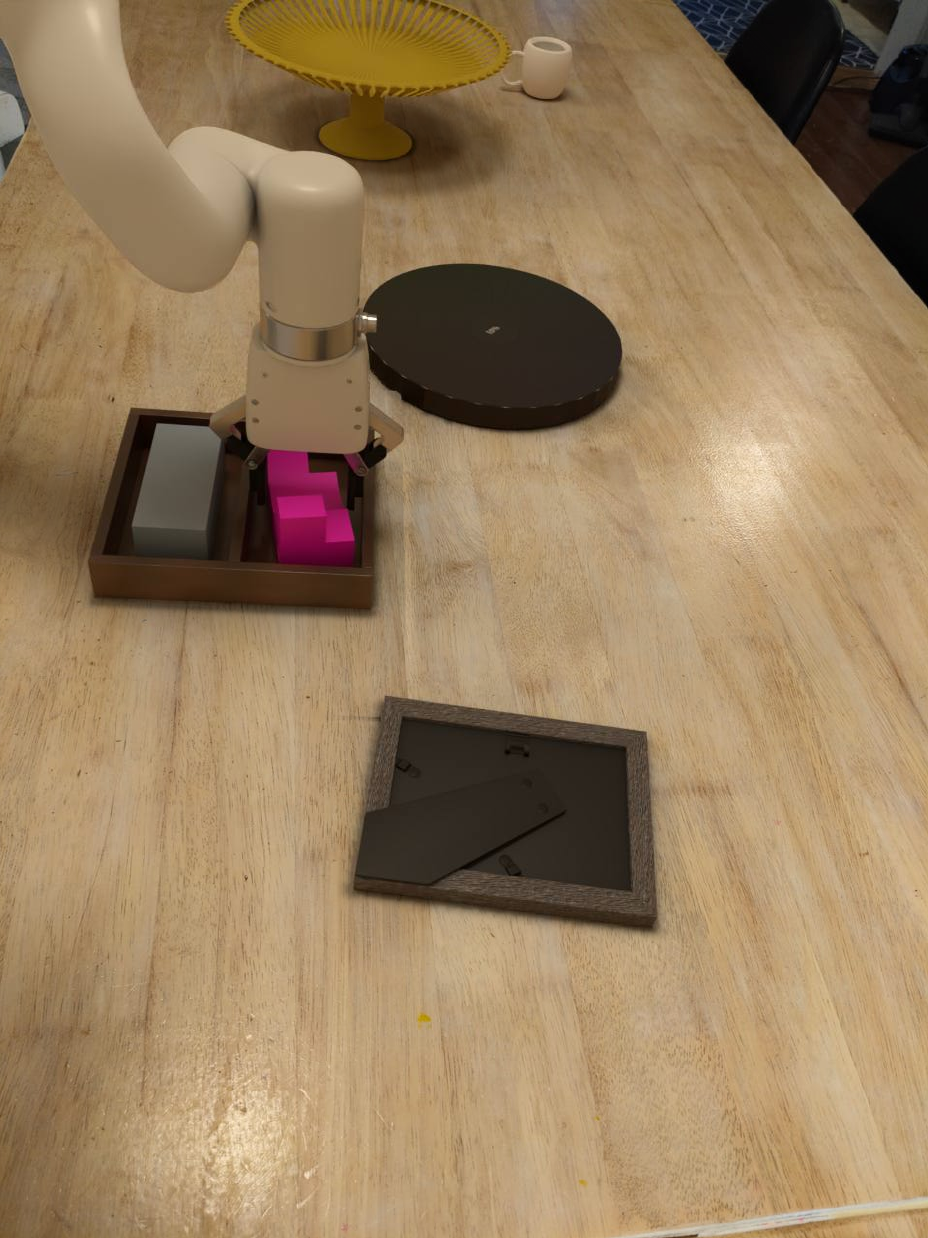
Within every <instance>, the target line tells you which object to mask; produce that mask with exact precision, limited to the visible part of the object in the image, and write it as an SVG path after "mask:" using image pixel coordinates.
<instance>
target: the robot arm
mask: <svg viewBox="0 0 928 1238" xmlns="http://www.w3.org/2000/svg"><path fill="white" fill-rule="evenodd" d="M120 7H121V6H120V0H0V40H1V41H2V43H3V44H4V46H5V48H6V49H7V52H8V54H9V57H10V60H11V63H12V65H13V69H14V72H15V75H16V78H17V82H18V85H19V89H20V91H21V94H22V96H23V99H24V101H25V104H26V106H27V109H28V111H29V113H30V115H31V118H32V120H33V122H34V125H35V128H36V129H37V132H38V135H39V137H40V139H41V142H42V144H43V146H44V148H45V151H46V152H47V155H48V157H49V158H50V162H51V163H52V165H53V166H54V169H55V170H56V171H57V173H58V175H59V177H60V179H61V180H62V182H63V183H64V185H65V186H66V188H67V189H68V191H69V192H70V194H71V195H72V196H73V197H74V199H75V200H76V202H77V203H78V204H79V206H80V207H81V208H82V210H84V212H85V213H86V215H87V216H88V217H89V218H90V219H91V220H92V221H93V223H94V224H95V225H96V227H97V228H99V230H100V231H101V232H102V234H103V235H104V236H105V237H106V238H107V239H108V241H110V243H111V244H112V245H113V246H114V247H115V248H116V250H117V251H118V252H119V253H120V254H121V255H122V256H123V257H124V258H125V259H126V261H128V263H130V264H131V266H133V267H134V269H136V270H137V271H139V272H140V273H141V274H142V275H143V276H145V277H146V278H147V279H149V280H150V281H152V282H154V283H155V284H157V285H159V286H161V287H163V288H165V289H167V290H170V291H174V292H178V293H182V294H183V293H184V294H195V293H202V292H205V291H207V290H211V289H212V288H215V286H217V285H218V284H220V283H221V282H222V281H224V280H225V279H226V278H227V276H228V275H229V274H230V273H231V271H232V270H233V268H234V266H235V265H236V262H237V260H238V259H239V257H240V256H241V253H242V251H243V249H244V247H245V245H246V243H247V242H252V243H254V244H255V245H256V247H257V253H258V254H257V255H258V289H259V292H258V293H259V322H258V323H256V324H255V325H254V326H253V328H252V331H251V335H250V340H249V344H248V345H249V348H248V352H247V366H246V367H247V368H246V384H245V394H244V395H242V396H240V397H239V398H237V399H235V400H234V401H232V402H230V403H228V404H227V405H225V406H223V407H222V408H220V409H218V410H217V411H215V412H213V413H214V414H212V415H211V418H210V424H209V428H210V429H211V430H212V431H213V432H214V433H215V434H216V435H217V436H218V437H219V438H220V439H221V440H222V441H224V442H225V443H226V446H227V448H228V449H229V450H231V451H232V452H233V453H234V454H236V455H237V456H238V457H239V458H241V459H242V460H243V461H244V462H245V467H246V468H248V469H249V482H250V491H257V505H261V506H263V505H264V504H266V498H267V489H268V458H267V454H268V453H269V451H270V450H271V449H274V450H287V451H302V452H318V453H338V454H343V455H344V456H345V458H346V460H347V461H348V463H349V464H348V483H347V508H346V509H349V510H351V511H354V507H355V497H361V498H363V487H364V476H365V475H367V474H368V469H370V468H371V467H373V466H374V467H375V466H376V465H377V464H379V463H380V462H382V461H384V459H386V458H387V454H389V453H390V452H393V450H394V449H396V448H397V447H398V446H399V445H401V443H403V442H404V440H405V429H404V427H403V426H402V425H401V424H400V423H398V422H397V421H395V420H394V419H393V418H391V416H388V415H387V414H386V413H385V412H384V411H382V410H381V409H380V408H378V407H377V406H375V405H374V403H372V402H371V368H370V363H369V353H368V346H367V340H366V336H365V334H366V333H367V332H376V326H377V315H369V314H367V313H366V312H363V307H360V295H361V293H360V291H361V271H362V270H361V269H362V256H363V254H362V253H363V239H364V238H363V237H364V236H363V235H364V221H365V220H364V219H365V218H364V216H365V186H364V183H363V180H362V177H361V175H360V173H359V172H358V170H357V169H356V168H355V167H354V166H353V165H351V164H350V163H349V162H347V161H346V160H344V159H343V158H340V157H338V156H336V155H334V154H333V155H332V154H330V153H325V152H322V151H313V150H295V151H290V150H286V149H283V148H279V147H277V146H273V145H271V144H268V143H265V142H262V141H259V140H257V139H254V138H252V137H249V136H246V135H244V134H241V133H239V132H235V131H232V130H229V129H225V128H221V127H217V126H207V125H206V126H205V125H202V126H195V127H191V128H188V129H186V130H185V131H183V132H181V133H180V134H178V135H177V136H176V137H174V139H173V140H172V141H171V142H170V144H169V145H168V147H167V146H166V145H165V143H164V141H163V140H162V139H161V137H160V136H159V134H158V133H157V131H156V130H155V128H154V126H153V125H152V123H151V121H150V119H149V118H148V116H147V114H146V112H145V110H144V108H143V106H142V104H141V102H140V99H139V98H138V95H137V92H136V90H135V87H134V84H133V82H132V79H131V76H130V73H129V69H128V66H127V61H126V57H125V52H124V45H123V39H122V23H121V10H120ZM364 333H365V334H364ZM244 418H246V433H247V435H246V434H245V433H243V432H242V431H241V430H240V429H238V428H235V426H234V424H236V423H238V422H239V421H241V420H243V419H244ZM369 426H370V427H371V428H373V429H374V430H375V432H376V433H378V434H379V435H380V436H378V437H376V438H375V439H374V440H373V441H371V442H370V443H368V444H367V445H366V443H367V437H368V429H369Z"/></svg>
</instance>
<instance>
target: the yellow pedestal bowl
mask: <svg viewBox="0 0 928 1238" xmlns="http://www.w3.org/2000/svg"><path fill="white" fill-rule="evenodd" d="M239 1H240V2H233V4H234V5H235V6H229V8H230V10H228V11H226V14H228V15H225V16H224V18H225V19H227V20H224V21H223V23H224V24H226V25H227V26H225V28H226V29H227V30H229V31H227V34H229V35H231V39H233V40H234V41H236V42H237V45H239V46H241V47H243V48H244V50H246V51H247V52H249V53H251V55H253V56H255V57H257V58H259V59H261V60H263V61H265V62H267V63H268V64H271V65H273V66H275V67H276V68H279V69H281V70H282V71H285V72H287V73H289V74H290V75H293V76H294V77H296V78H298V79H300V80H302V81H305V82H307V83H310V84H313V85H315V86H316V85H317V86H319V87H321V88H325V87H326V88H327V89H329V90H331V91H334V90H336V91H338V92H339V93H344V92H345V91H346V92H347V93H348V94H349V95H350V98H349V116H346V117H343V118H339V119H337V120H334V121H331V122H329V123H326V124H324V125H323V126H322V127H321V128H320V129H319V131H318V132H319V133H318V138H319V140H320V142H321V144H322V145H323V146H325V147H326V148H327V149H328V150H331V151H332V152H333V153H337V154H339V155H342V156H345V157H349V158H353V159H358V160H364V161H365V160H367V161H386V160H391V159H397V158H400V157H402V156H405V155H406V154H408V152H409V151H411V148H412V146H413V141H412V139H411V137H410V135H409V134H408V133H407V132H405V131H404V130H402V129H401V128H399V127H398V126H396V125H394V124H392V123H390V122H389V121H387V120H385V110H386V109H385V107H386V96H388V97H389V99H393V98H395V97H398V98H399V99H402V98H406V97H407V98H408V99H409V98H413V97H416V98H420V97H423V96H424V97H427V96H431V95H436V94H440V93H443V92H446V91H451V90H454V89H458V88H461V87H465V86H469V85H472V84H475V83H478V82H482V81H486V80H488V79H489V78H490V77H493V76H496V75H497V74H498V73H500V72H501V71H503V70H501V69H502V68H504V67H505V68H507V67H508V65H507V64H510V63H511V61H510V60H509V59H512V58H513V56H509V55H510V54H512V53H513V52H511V51H512V50H510V49H512V48H513V47H512V46H510V44H511V41H507V40H506V39H507V36H505V35H502V34H503V31H499V30H496V29H497V27H496V26H491V25H490V24H491V22H488V21H483V20H482V19H483V17H477V16H474V13H472V12H466V11H465V8H456V7H455V4H445V3H444V1H437V0H418V3H417V6H416V8H415V9H414V12H413V15H412V17H411V19H410V21H409V22H408V25H407V26H406V28H405V29H404V27H405V25H406V22H407V19H408V17H409V15H410V12H411V10H412V8H413V6H414V4H415V2H416V0H406V3H405V6H404V9H403V12H402V15H401V18H400V20H399V22H398V25H397V27H396V29H395V26H396V22H397V19H398V14H399V12H400V8H401V5H402V3H403V1H404V0H394V3H393V7H392V12H391V14H390V15H391V16H390V18H389V23H388V26H387V28H386V23H387V17H388V12H389V7H390V3H391V0H382V7H381V12H380V20H379V24H378V26H377V18H378V17H377V15H378V7H379V6H378V5H379V0H371V1H370V2H371V5H370V6H371V8H370V20H369V21H370V23H369V24H368V15H367V13H368V12H367V5H368V3H367V0H359V1H360V2H359V4H360V24H359V20H358V13H357V3H356V0H348V2H349V9H350V18H351V23H350V20H349V17H348V14H347V8H346V3H345V0H337V3H338V6H339V11H340V14H341V15H340V16H341V18H340V17H339V15H338V12H337V10H336V6H335V5H336V4H335V2H334V0H326V2H327V5H328V7H329V10H330V12H331V16H332V18H331V17H330V15H329V13H328V11H327V8H326V6H325V4H324V1H323V0H315V2H316V3H317V5H318V7H319V10H320V12H321V14H322V17H323V18H322V17H321V15H320V14H319V12H318V10H317V8H316V6H315V4H314V3H313V0H305V2H306V4H307V5H308V7H309V9H310V11H311V13H312V15H313V16H314V18H313V16H311V14H310V12H309V11H308V9H307V7H306V6H305V5H304V3H303V1H302V0H294V1H295V3H296V4H297V6H298V7H299V9H300V11H301V12H302V13H303V15H304V16H303V15H302V14H301V12H300V11H299V10H298V9H297V8H296V6H295V5H294V3H293V2H292V0H284V2H285V4H287V6H288V7H289V8H290V10H291V11H292V12H293V14H294V15H295V17H294V15H293V14H292V13H291V12H290V11H289V10H288V8H287V7H286V6H285V5H284V3H283V2H282V1H281V0H273V1H274V3H275V4H276V5H277V6H278V7H279V8H280V10H281V11H282V12H283V13H282V12H281V11H280V10H279V9H278V8H277V7H276V6H275V4H274V3H273V2H272V1H271V0H263V1H261V0H239ZM253 2H254V3H255V4H256V5H257V6H258V7H259V8H260V9H261V10H262V11H263V12H264V13H265V14H266V15H267V16H268V17H269V18H268V17H267V16H266V15H265V14H264V13H263V12H262V11H261V10H260V9H259V8H258V7H257V6H256V5H255V4H254V3H253ZM263 2H264V3H265V4H266V5H267V6H268V7H269V8H270V9H271V10H272V11H273V12H274V13H275V14H276V15H277V17H276V15H274V14H273V13H272V12H271V11H270V10H269V9H268V7H267V6H265V4H264V3H263ZM429 2H430V4H429V6H428V8H427V10H426V12H425V13H424V16H422V17H423V18H422V19H421V21H420V23H419V24H418V25H417V27H416V28H415V29H414V27H415V25H416V23H417V21H418V19H419V17H420V15H421V14H422V12H423V10H424V9H425V7H426V5H427V4H428V3H429ZM247 6H248V7H249V8H248V7H247ZM439 6H440V9H439V10H438V11H437V12H436V13H437V14H436V15H435V16H434V18H433V20H432V21H431V22H430V23H429V25H428V26H427V27H426V28H425V29H424V30H423V28H424V27H425V25H426V24H427V22H428V21H429V19H430V18H431V16H432V15H433V14H434V12H435V11H436V10H437V8H438V7H439ZM250 8H251V9H252V10H251V9H250ZM450 9H451V11H450V12H449V14H448V16H447V17H446V18H445V19H444V20H443V21H442V23H441V24H440V25H439V27H437V28H436V29H435V30H434V31H433V32H432V30H433V29H434V28H435V27H436V25H437V23H439V22H440V20H441V19H442V18H443V16H444V15H445V14H446V13H447V12H448V11H449V10H450ZM253 11H254V12H255V13H256V14H258V15H259V16H260V17H261V18H262V19H263V20H264V21H263V20H262V19H260V17H259V16H257V15H256V14H255V13H254V12H253ZM246 13H247V14H248V15H247V14H246ZM459 13H460V15H459V16H458V17H457V19H456V20H455V21H454V22H453V23H452V24H451V25H450V26H449V27H448V28H447V29H446V30H445V31H444V32H443V33H441V32H442V31H443V30H444V29H445V27H447V26H448V25H449V24H450V22H451V21H452V20H453V19H454V18H455V17H456V16H457V15H458V14H459ZM284 15H285V16H284ZM278 17H279V18H280V19H279V18H278ZM304 17H305V18H304ZM244 18H245V19H244ZM270 18H271V19H270ZM467 18H470V19H468V20H467V22H465V23H464V24H463V25H462V26H461V27H460V28H459V29H458V30H457V31H456V32H455V33H453V34H452V35H451V33H452V32H453V31H454V30H455V29H456V28H457V27H459V26H460V25H461V24H462V23H463V22H464V21H466V19H467ZM253 19H254V20H253ZM341 19H342V21H341ZM246 20H247V21H246ZM272 20H273V21H272ZM249 22H250V23H251V24H250V23H249ZM266 22H267V23H266ZM476 22H477V23H476ZM242 23H243V24H242ZM258 23H259V24H258ZM475 23H476V24H475ZM473 24H475V25H474V26H473V27H472V28H471V29H469V30H468V31H467V32H465V34H463V35H462V36H460V35H461V34H462V33H463V32H464V31H466V30H467V29H468V28H469V27H471V26H472V25H473ZM253 25H254V26H253ZM368 25H369V26H368ZM482 27H484V28H483V29H482V30H480V29H481V28H482ZM413 29H414V30H413ZM422 30H423V31H422ZM479 30H480V32H477V31H479ZM431 32H432V33H431ZM475 32H477V33H476V34H475V35H474V36H473V37H471V38H469V39H468V40H466V39H467V38H468V37H470V36H471V35H472V34H474V33H475ZM488 32H490V33H488ZM430 33H431V34H430ZM487 33H488V34H487ZM485 34H486V35H485ZM449 35H450V36H449ZM483 35H485V36H483ZM448 36H449V37H448ZM459 36H460V37H459ZM481 36H483V37H482V38H481ZM457 37H458V38H457ZM456 38H457V39H456ZM479 38H481V39H479ZM492 38H493V39H492ZM477 39H479V40H478V41H476V40H477ZM490 39H491V40H490ZM465 40H466V41H465ZM488 40H489V41H488ZM463 41H464V42H463ZM474 41H476V42H474ZM486 41H488V42H486ZM473 42H474V43H473ZM485 42H486V43H485ZM471 43H473V44H471ZM482 43H484V44H483V45H481V44H482ZM495 43H496V44H495ZM493 44H494V45H493ZM479 45H481V46H479ZM491 45H493V46H491ZM478 46H479V47H478ZM489 46H490V47H489ZM476 47H477V48H476ZM487 47H488V48H487ZM486 48H487V49H486ZM497 48H498V49H497ZM484 49H485V50H484ZM495 49H496V50H495ZM482 50H483V51H482ZM493 50H494V51H493ZM491 51H492V52H491ZM489 52H491V53H489ZM487 53H488V54H487ZM485 54H486V55H485ZM496 54H497V55H496ZM505 64H506V65H505ZM505 68H504V69H505Z"/></svg>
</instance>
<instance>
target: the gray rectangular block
mask: <svg viewBox="0 0 928 1238" xmlns="http://www.w3.org/2000/svg"><path fill="white" fill-rule="evenodd" d="M225 472H226V463H225V446H224V441H222V440H221V439H220V438H219V437H218V436H217V435H216V434H215V433H214V432H213V431H212V430H211V429H210V428H209V427H204V426H189V425H174V424H159V423H157V425H156V429H155V433H154V437H153V441H152V445H151V449H150V454H149V458H148V462H147V466H146V470H145V474H144V478H143V482H142V486H141V490H140V494H139V498H138V502H137V507H136V511H135V515H134V519H133V523H132V531H133V538H134V544H135V551H136V557H154V558H174V559H194V560H211V558H212V552H213V546H214V540H215V534H216V528H217V521H218V515H219V509H220V503H221V497H222V491H223V484H224V478H225Z"/></svg>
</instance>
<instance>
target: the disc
mask: <svg viewBox="0 0 928 1238" xmlns="http://www.w3.org/2000/svg"><path fill="white" fill-rule="evenodd" d="M362 312H366V313H367V314H369V315H377V326H376V332H367V333H366V334H365V333H364V334H365V336H366V340H367V346H368V353H369V363H370V371H372V372H373V373H374V375H375V376H376V377H377V379H379V380H380V382H382V384H383V385H385V386H386V387H387V388H389V389H390V390H391V391H392V392H397V393H398V394H399V395H400V397H401V398H402V399H404V400H406V401H408V402H410V403H411V404H413V405H415V406H417V407H419V408H420V409H422V410H424V411H427V412H430V413H431V414H432V413H433V414H435V415H437V416H440V417H442V418H445V419H448V420H453V421H457V422H461V423H465V424H469V425H473V426H479V427H489V428H495V429H516V430H517V429H521V430H522V429H526V430H527V429H529V430H530V429H536V428H537V429H538V428H544V427H553V426H556V425H560V424H564V423H567V422H571V421H574V420H576V419H578V418H581V417H582V416H584V415H587V414H589V413H591V412H592V411H594V410H595V409H596V408H597V407H599V406H601V404H602V403H603V402H605V401H606V399H607V398H608V397H609V395H610V394H611V392H612V390H613V389H614V387H615V383H616V380H617V376H618V372H619V368H620V367H621V363H622V358H623V353H624V352H623V345H622V339H621V336H620V335H619V333H618V330H617V329H616V326H615V325H614V323H613V322H612V321H611V319H610V318H609V317H608V316H607V315H606V314H605V312H604V311H602V310H601V309H600V308H599V307H597V306H596V305H595V304H594V303H593V302H592V301H590V300H589V299H587V298H586V297H585V296H583V295H581V294H580V293H578V292H576V291H575V290H573V289H571V288H570V287H567V286H565V285H562V284H560V283H559V282H556V281H554V280H552V279H549V278H546V277H543V276H541V275H538V274H535V273H531V272H529V271H524V270H520V269H516V268H512V267H507V266H501V265H500V266H499V265H493V264H485V263H467V262H466V263H461V262H457V263H442V264H433V265H429V266H423V267H417V268H414V269H411V270H408V271H405V272H402V273H399V274H397V275H395V276H393V277H391V278H390V279H388V280H386V281H384V282H382V283H381V284H380V285H379V286H378V287H377V288H376V289H374V290H373V292H371V293H370V295H369V297H368V298H367V299H366V301H365V303H364V304H363V307H362Z"/></svg>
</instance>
